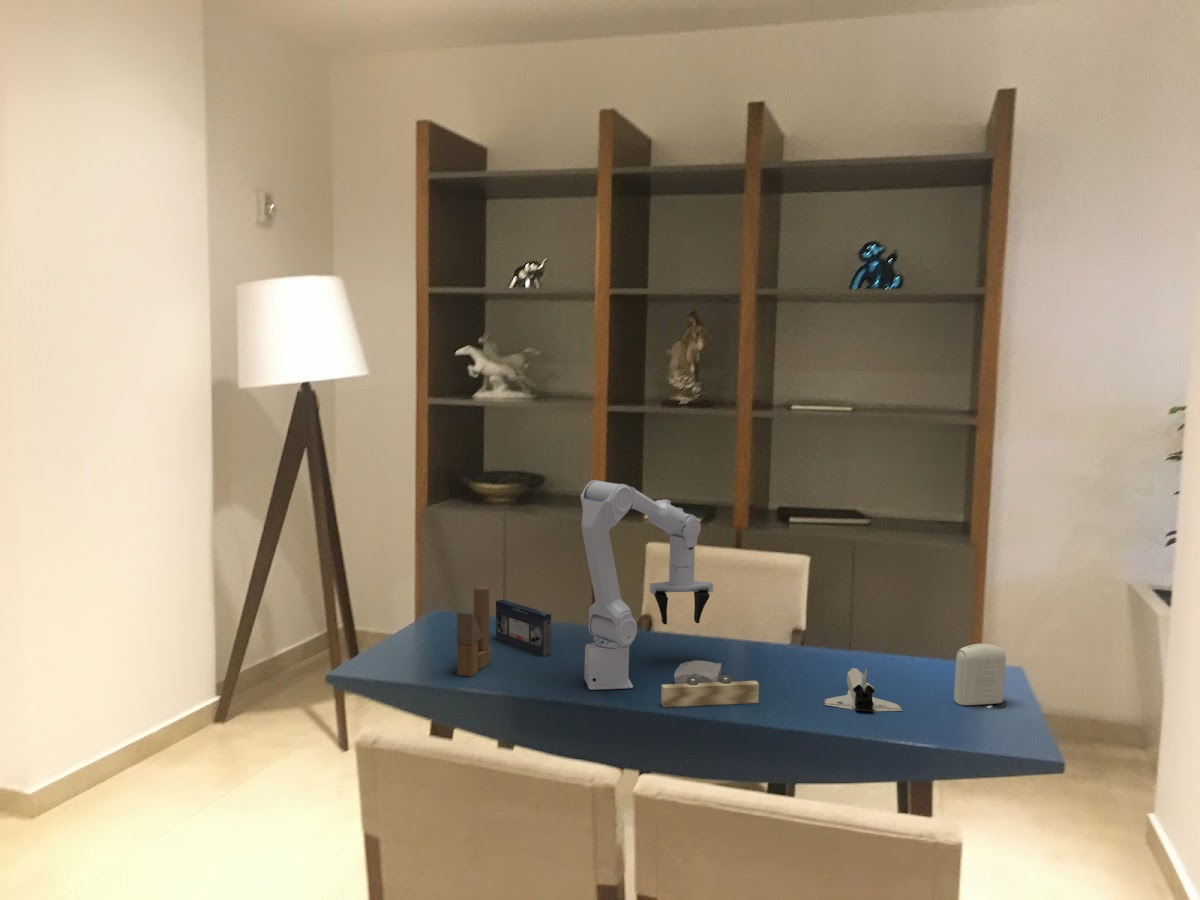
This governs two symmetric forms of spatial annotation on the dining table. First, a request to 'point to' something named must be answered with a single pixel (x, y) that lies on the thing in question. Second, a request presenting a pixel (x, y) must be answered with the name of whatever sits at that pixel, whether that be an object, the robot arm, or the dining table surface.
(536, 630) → the vhs cassette tape
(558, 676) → the dining table surface
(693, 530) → the robot arm
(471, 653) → the stacked wooden blocks
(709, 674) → the stone block
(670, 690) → the bench stop
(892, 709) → the space shuttle model
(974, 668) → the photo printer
